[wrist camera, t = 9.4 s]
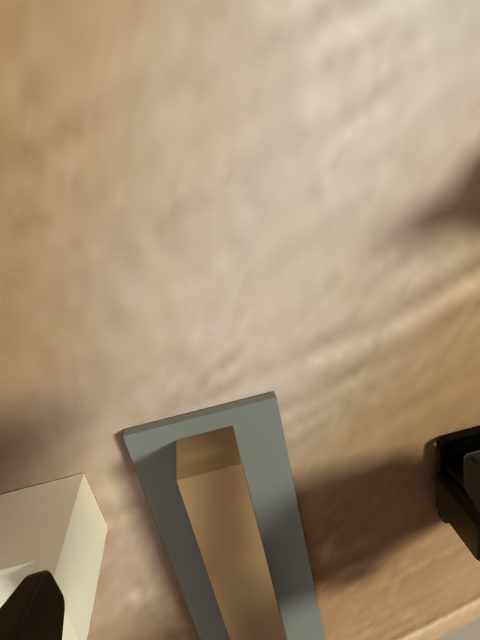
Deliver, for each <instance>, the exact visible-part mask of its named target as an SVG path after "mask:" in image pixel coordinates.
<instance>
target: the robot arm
mask: <svg viewBox="0 0 480 640" xmlns="http://www.w3.org/2000/svg"><path fill="white" fill-rule="evenodd" d="M446 445H447V446H446ZM445 446H446V447H445ZM436 451H437V473H436V475H435V484H436V505H437V507H438V510H439V517H440V518H441V519H442V521H443V522H444V523H450V524H451V526H452V527H453V528H454V530H455V531H456V533H457V534H458V535H459V537H460V538H461V539H462V541H463V542H464V543H465V545H466V546H467V547H468V549H469V550H470V551H471V553H472V554H473V555H474V557H475V558H476V559H477V560H479V561H480V427H479V428H476V429H472V430H468V431H464V432H461V433H457V434H453V435H449V436H446V437H443V438H441V439H440V440H438V442H437V445H436ZM64 612H65V601H64V596H63V594H62V592H61V590H60V588H59V586H58V585H57V583H56V581H55V579H54V577H53V575H52V574H51V572H50V571H48V570H43V571H39V572H36V573H32V574H29V575H27V576H26V577H25V578H24V579H23V580H22V581H21V583H20V584H19V585H18V586H17V588H16V589H15V590H14V591H13V593H12V594H11V595H10V597H9V598H8V599H7V600H6V602H5V603H4V604H3V605H2V607H1V608H0V640H62V635H63V624H64Z"/></svg>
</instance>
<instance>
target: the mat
mask: <svg viewBox="0 0 480 640" xmlns="http://www.w3.org/2000/svg"><path fill="white" fill-rule="evenodd" d="M232 425H233V427H234V431H235V435H236V439H237V443H238V447H239V451H240V455H241V459H242V463H243V466H244V470H245V474H246V478H247V482H248V486H249V490H250V494H251V498H252V502H253V505H254V509H255V513H256V517H257V521H258V525H259V529H260V533H261V537H262V541H263V544H264V548H265V552H266V556H267V560H268V564H269V568H270V572H271V576H272V580H273V583H274V587H275V591H276V595H277V599H278V603H279V607H280V611H281V615H282V618H283V622H284V626H285V630H286V634H287V638H288V640H325V637H324V632H323V627H322V622H321V617H320V612H319V607H318V602H317V597H316V592H315V587H314V582H313V577H312V572H311V567H310V562H309V557H308V552H307V547H306V542H305V537H304V532H303V527H302V522H301V517H300V512H299V507H298V502H297V498H296V493H295V488H294V483H293V478H292V473H291V468H290V463H289V458H288V453H287V448H286V443H285V438H284V433H283V428H282V423H281V418H280V413H279V408H278V403H277V398H276V395H275V393H274V391H273V392H269V393H265V394H261V395H257V396H253V397H249V398H246V399H242V400H238V401H234V402H230V403H226V404H222V405H218V406H214V407H210V408H206V409H202V410H198V411H194V412H191V413H187V414H183V415H179V416H175V417H171V418H167V419H163V420H159V421H155V422H151V423H147V424H143V425H140V426H136V427H132V428H128V429H124V434H123V438H124V440H125V443H126V446H127V448H128V451H129V454H130V456H131V459H132V462H133V464H134V467H135V470H136V472H137V475H138V477H139V480H140V483H141V485H142V488H143V491H144V493H145V496H146V499H147V501H148V504H149V507H150V509H151V512H152V514H153V517H154V520H155V522H156V525H157V528H158V530H159V533H160V536H161V538H162V541H163V544H164V546H165V549H166V551H167V554H168V557H169V559H170V562H171V565H172V567H173V570H174V573H175V575H176V578H177V581H178V583H179V586H180V589H181V591H182V594H183V596H184V599H185V602H186V604H187V607H188V610H189V612H190V615H191V618H192V620H193V623H194V626H195V628H196V631H197V633H198V636H199V639H200V640H230V637H229V634H228V631H227V629H226V626H225V623H224V620H223V617H222V614H221V611H220V608H219V605H218V602H217V599H216V596H215V593H214V590H213V587H212V584H211V581H210V578H209V575H208V572H207V569H206V566H205V564H204V561H203V558H202V555H201V552H200V549H199V546H198V543H197V540H196V537H195V534H194V531H193V528H192V525H191V522H190V519H189V516H188V513H187V510H186V507H185V504H184V501H183V498H182V496H181V493H180V490H179V487H178V484H177V475H176V440H178V439H182V438H186V437H190V436H193V435H197V434H201V433H205V432H209V431H213V430H217V429H220V428H224V427H228V426H232Z"/></svg>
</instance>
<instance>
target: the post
mask: <svg viewBox="0 0 480 640" xmlns="http://www.w3.org/2000/svg"><path fill="white" fill-rule="evenodd" d="M107 528H108V527H107V525H106V523H105V520H104V518H103V516H102V514H101V511H100V509H99V507H98V504H97V502H96V500H95V498H94V495H93V493H92V491H91V488H90V486H89V484H88V482H87V479H86V477H85V475H84V473H82V474H78V475H74V476H70V477H67V478H63V479H59V480H55V481H51V482H47V483H43V484H39V485H36V486H32V487H28V488H24V489H20V490H16V491H12V492H9V493H5V494H1V495H0V608H1V607H2V605H3V604H4V603H5V602H6V600H7V599H8V598H9V597H10V595H11V594H12V593H13V591H14V590H15V589H16V588H17V586H18V585H19V584H20V583H21V581H22V580H23V579H24V578H25V577H26V576H27V575H29V574H32V573H36V572H39V571H43V570H48V571H50V572H51V574H52V575H53V577H54V579H55V581H56V583H57V585H58V586H59V588H60V590H61V592H62V594H63V596H64V601H65V612H64V624H63V635H62V640H87V637H88V631H89V626H90V620H91V615H92V610H93V604H94V599H95V593H96V588H97V582H98V577H99V571H100V566H101V561H102V555H103V550H104V544H105V539H106V533H107Z"/></svg>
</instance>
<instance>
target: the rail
mask: <svg viewBox="0 0 480 640" xmlns="http://www.w3.org/2000/svg"><path fill="white" fill-rule="evenodd" d="M176 475H177V484H178V487H179V490H180V493H181V496H182V498H183V501H184V504H185V507H186V510H187V513H188V516H189V519H190V522H191V525H192V528H193V531H194V534H195V537H196V540H197V543H198V546H199V549H200V552H201V555H202V558H203V561H204V564H205V566H206V569H207V572H208V575H209V578H210V581H211V584H212V587H213V590H214V593H215V596H216V599H217V602H218V605H219V608H220V611H221V614H222V617H223V620H224V623H225V626H226V629H227V631H228V634H229V637H230V640H288V638H287V634H286V630H285V626H284V622H283V618H282V615H281V611H280V607H279V603H278V599H277V595H276V591H275V587H274V583H273V580H272V576H271V572H270V568H269V564H268V560H267V556H266V552H265V548H264V544H263V541H262V537H261V533H260V529H259V525H258V521H257V517H256V513H255V509H254V505H253V502H252V498H251V494H250V490H249V486H248V482H247V478H246V474H245V470H244V466H243V463H242V459H241V455H240V451H239V447H238V443H237V439H236V435H235V431H234V427H233V425H232V426H228V427H224V428H220V429H217V430H213V431H209V432H205V433H201V434H197V435H193V436H190V437H186V438H182V439H178V440H176Z"/></svg>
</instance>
